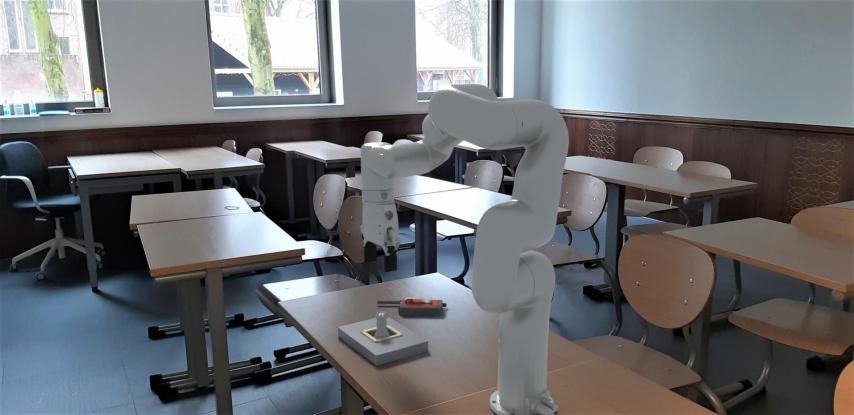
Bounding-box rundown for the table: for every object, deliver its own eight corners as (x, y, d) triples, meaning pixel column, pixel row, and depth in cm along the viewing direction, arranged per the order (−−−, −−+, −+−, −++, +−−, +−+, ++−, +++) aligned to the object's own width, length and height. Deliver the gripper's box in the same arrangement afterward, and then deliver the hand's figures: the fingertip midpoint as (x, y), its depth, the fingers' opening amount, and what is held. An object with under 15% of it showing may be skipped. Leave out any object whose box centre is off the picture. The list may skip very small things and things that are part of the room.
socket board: (428, 350, 152) (427, 339, 151) (376, 365, 144) (376, 354, 144) (386, 324, 168) (385, 314, 168) (338, 336, 161) (337, 326, 160)
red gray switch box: (447, 306, 182) (377, 305, 183) (447, 291, 181) (377, 290, 182) (445, 317, 173) (373, 316, 175) (445, 302, 172) (372, 301, 174)
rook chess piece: (388, 348, 154) (387, 316, 152) (370, 346, 155) (369, 315, 153) (393, 340, 158) (392, 310, 156) (375, 339, 159) (375, 308, 157)
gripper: (411, 199, 144) (412, 272, 147) (374, 189, 158) (376, 255, 161) (382, 203, 140) (384, 278, 143) (347, 192, 154) (349, 260, 157)
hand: (380, 266), depth 152 cm, fingers open, 9 cm apart
